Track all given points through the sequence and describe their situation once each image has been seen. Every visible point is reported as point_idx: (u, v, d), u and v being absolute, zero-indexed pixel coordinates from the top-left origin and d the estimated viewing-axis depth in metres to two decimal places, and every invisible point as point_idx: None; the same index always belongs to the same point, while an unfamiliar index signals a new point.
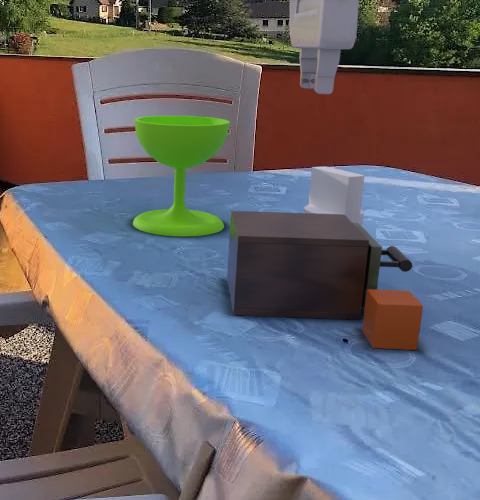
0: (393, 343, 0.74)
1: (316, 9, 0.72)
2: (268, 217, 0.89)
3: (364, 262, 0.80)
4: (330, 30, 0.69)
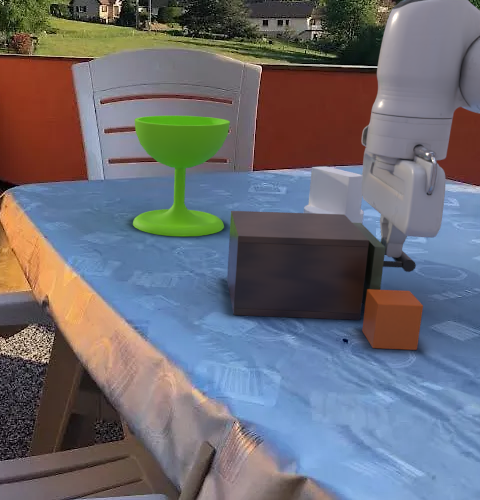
0: (393, 343, 0.74)
1: (401, 196, 0.77)
2: (268, 217, 0.89)
3: (364, 262, 0.80)
4: (417, 222, 0.75)
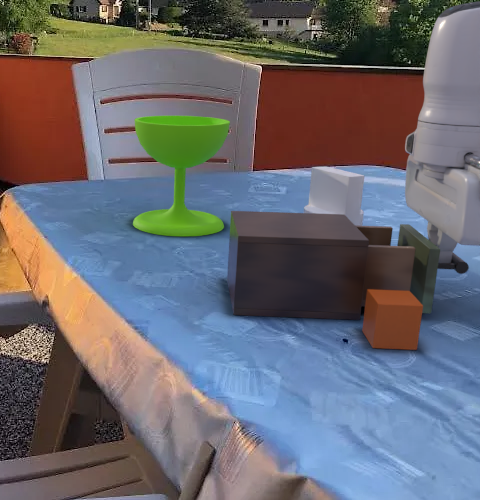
0: (393, 343, 0.74)
1: (453, 204, 0.77)
2: (268, 217, 0.89)
3: (364, 262, 0.80)
4: (472, 231, 0.75)
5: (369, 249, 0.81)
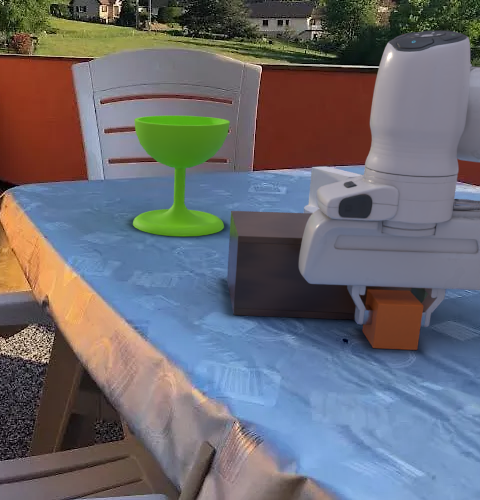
0: (393, 343, 0.74)
1: (471, 255, 0.71)
2: (268, 217, 0.89)
3: None
4: None
5: None
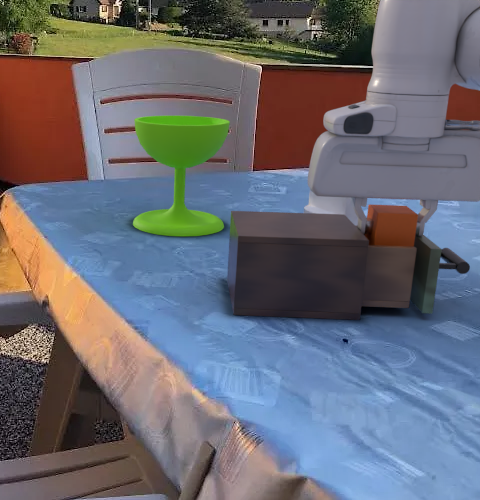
0: None
1: (461, 169, 0.81)
2: (268, 217, 0.89)
3: (364, 262, 0.80)
4: None
5: (370, 249, 0.81)
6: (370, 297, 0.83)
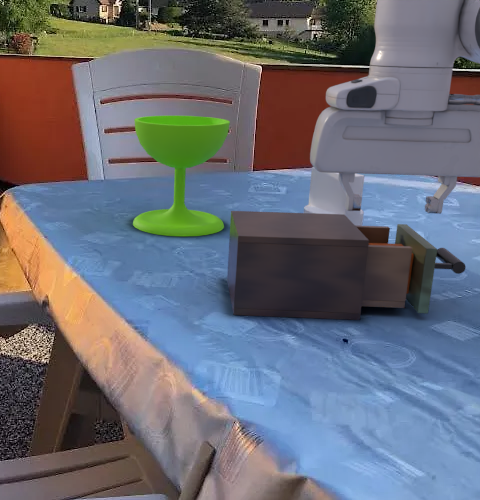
0: None
1: (465, 143, 0.80)
2: (268, 217, 0.89)
3: (364, 262, 0.80)
4: None
5: None
6: (365, 296, 0.83)
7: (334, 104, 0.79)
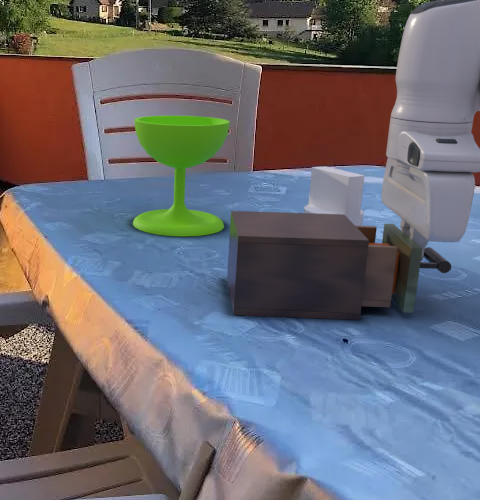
0: None
1: None
2: (268, 217, 0.89)
3: (364, 262, 0.80)
4: None
5: None
6: None
7: (475, 168, 0.74)
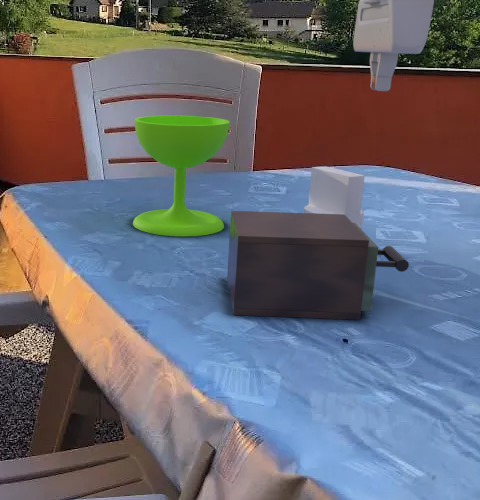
0: None
1: None
2: (268, 217, 0.89)
3: (364, 262, 0.80)
4: None
5: None
6: None
7: None
